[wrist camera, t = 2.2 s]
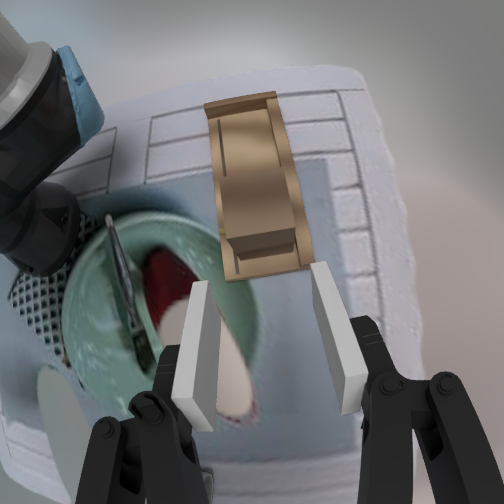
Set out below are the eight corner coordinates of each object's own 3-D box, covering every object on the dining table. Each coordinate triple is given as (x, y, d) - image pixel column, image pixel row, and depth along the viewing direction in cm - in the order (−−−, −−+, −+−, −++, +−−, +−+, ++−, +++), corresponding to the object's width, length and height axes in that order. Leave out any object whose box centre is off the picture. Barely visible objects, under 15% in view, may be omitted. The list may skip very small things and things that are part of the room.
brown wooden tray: (312, 268, 35) (315, 261, 31) (227, 282, 36) (220, 277, 32) (276, 108, 41) (275, 90, 37) (209, 120, 42) (203, 103, 38)
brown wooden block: (293, 252, 34) (295, 227, 26) (227, 263, 35) (207, 242, 26) (283, 203, 36) (283, 166, 27) (220, 214, 36) (202, 180, 28)
